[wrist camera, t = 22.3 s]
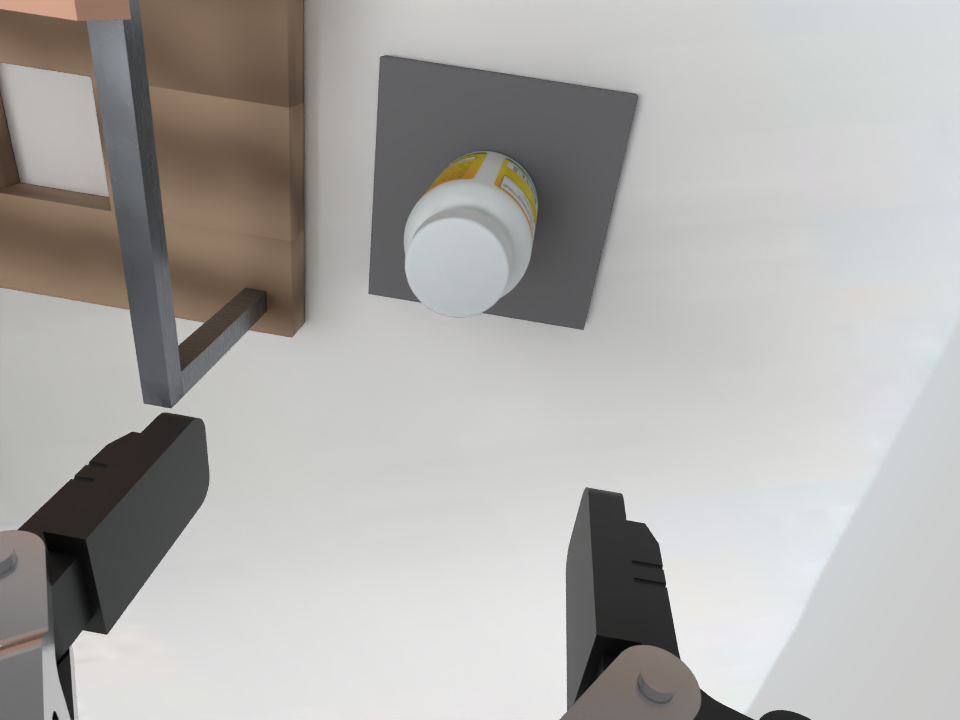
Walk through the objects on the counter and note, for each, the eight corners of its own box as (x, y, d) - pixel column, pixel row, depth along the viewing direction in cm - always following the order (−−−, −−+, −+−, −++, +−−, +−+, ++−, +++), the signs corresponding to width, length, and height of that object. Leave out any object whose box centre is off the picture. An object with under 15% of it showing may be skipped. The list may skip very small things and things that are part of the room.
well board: (304, 322, 38) (292, 337, 36) (-114, 251, 39) (-145, 262, 37) (302, -334, 25) (282, -361, 23) (-339, -418, 26) (-405, -449, 24)
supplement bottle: (552, 166, 31) (548, 223, 23) (520, 266, 34) (507, 350, 26) (445, 135, 31) (402, 180, 23) (421, 237, 34) (375, 312, 25)
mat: (582, 322, 36) (583, 329, 35) (373, 286, 37) (368, 293, 36) (635, 93, 30) (637, 96, 29) (385, 55, 31) (380, 56, 30)
